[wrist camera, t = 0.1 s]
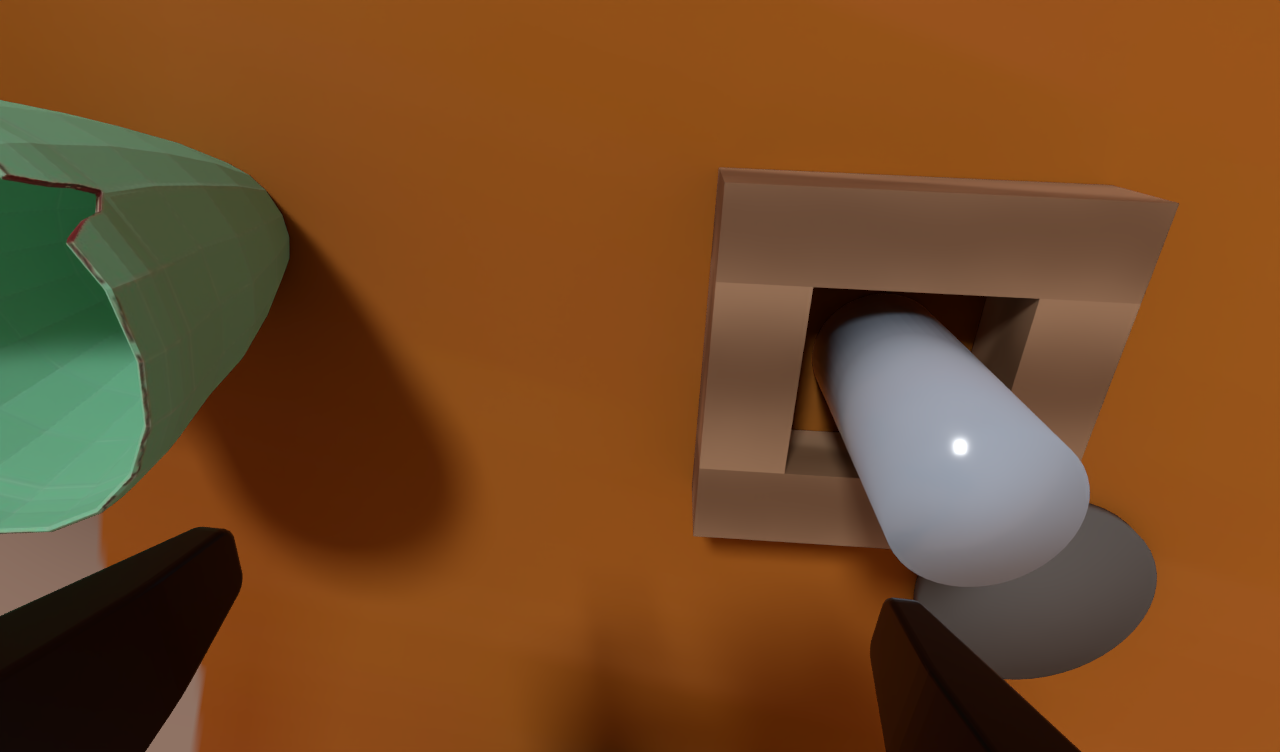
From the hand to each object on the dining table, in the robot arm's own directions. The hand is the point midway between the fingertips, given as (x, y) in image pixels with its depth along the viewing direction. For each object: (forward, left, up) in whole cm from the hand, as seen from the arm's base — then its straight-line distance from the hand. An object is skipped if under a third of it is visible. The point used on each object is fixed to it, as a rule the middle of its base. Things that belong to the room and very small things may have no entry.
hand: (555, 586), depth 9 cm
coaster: (-12, -17, -14) cm, 25 cm away
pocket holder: (-2, -9, -14) cm, 17 cm away
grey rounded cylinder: (-2, -9, -15) cm, 17 cm away
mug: (+2, +16, -15) cm, 22 cm away
